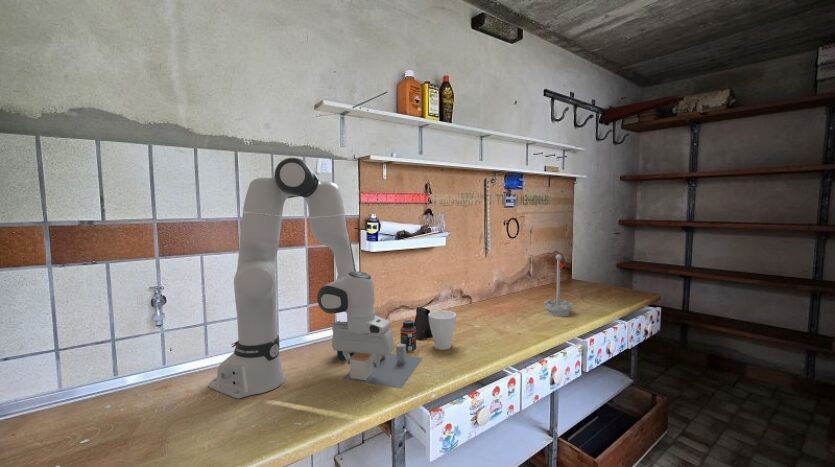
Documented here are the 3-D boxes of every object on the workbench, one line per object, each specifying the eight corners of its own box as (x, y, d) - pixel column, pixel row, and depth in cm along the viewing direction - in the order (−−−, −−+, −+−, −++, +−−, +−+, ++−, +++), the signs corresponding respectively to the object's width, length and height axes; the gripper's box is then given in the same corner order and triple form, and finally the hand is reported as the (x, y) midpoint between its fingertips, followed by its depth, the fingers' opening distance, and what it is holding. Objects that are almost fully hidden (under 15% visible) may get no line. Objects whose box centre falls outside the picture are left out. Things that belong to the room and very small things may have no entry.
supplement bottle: (414, 354, 131) (414, 324, 130) (398, 353, 132) (398, 323, 131) (417, 347, 137) (417, 319, 136) (402, 346, 138) (402, 318, 137)
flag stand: (539, 310, 184) (540, 253, 182) (563, 309, 186) (564, 252, 184) (551, 317, 171) (552, 256, 169) (577, 316, 173) (578, 255, 171)
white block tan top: (350, 377, 111) (350, 357, 111) (358, 370, 116) (357, 351, 116) (365, 380, 110) (365, 359, 109) (372, 372, 114) (372, 352, 114)
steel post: (396, 364, 121) (396, 346, 120) (399, 360, 123) (398, 343, 123) (403, 364, 120) (403, 347, 119) (406, 361, 122) (406, 344, 122)
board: (341, 382, 111) (341, 378, 111) (371, 354, 132) (371, 351, 131) (401, 391, 104) (401, 388, 104) (423, 360, 125) (423, 357, 125)
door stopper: (427, 331, 154) (427, 304, 154) (436, 335, 150) (435, 307, 149) (410, 336, 149) (410, 308, 148) (418, 340, 144) (418, 311, 143)
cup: (461, 350, 134) (461, 315, 133) (439, 356, 128) (438, 320, 127) (445, 341, 143) (445, 308, 142) (423, 347, 137) (423, 313, 136)
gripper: (327, 324, 112) (329, 366, 113) (387, 328, 106) (388, 373, 107) (337, 317, 118) (338, 357, 119) (394, 322, 112) (396, 364, 113)
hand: (363, 365), depth 113 cm, fingers open, 8 cm apart
